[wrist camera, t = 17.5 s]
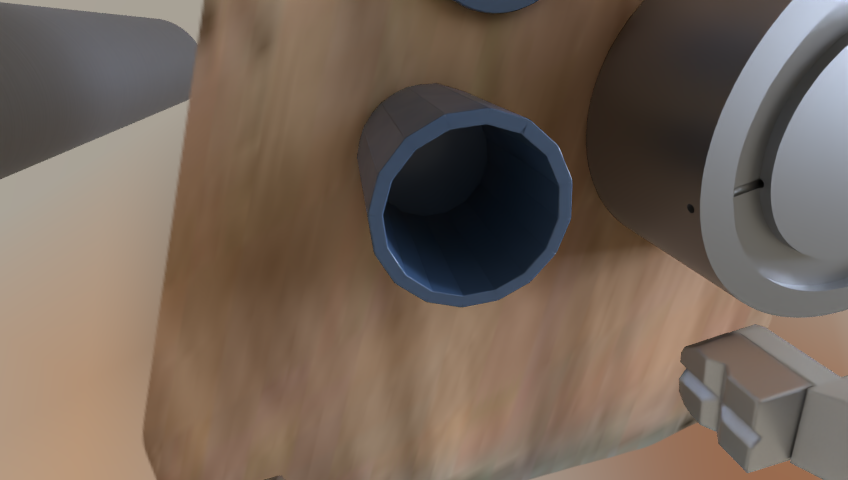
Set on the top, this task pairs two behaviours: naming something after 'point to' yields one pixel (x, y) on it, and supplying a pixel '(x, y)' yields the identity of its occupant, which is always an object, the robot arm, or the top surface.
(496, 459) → the top surface
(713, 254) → the container
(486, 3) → the tin lid
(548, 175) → the tin
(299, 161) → the top surface
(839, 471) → the robot arm
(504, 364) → the top surface
